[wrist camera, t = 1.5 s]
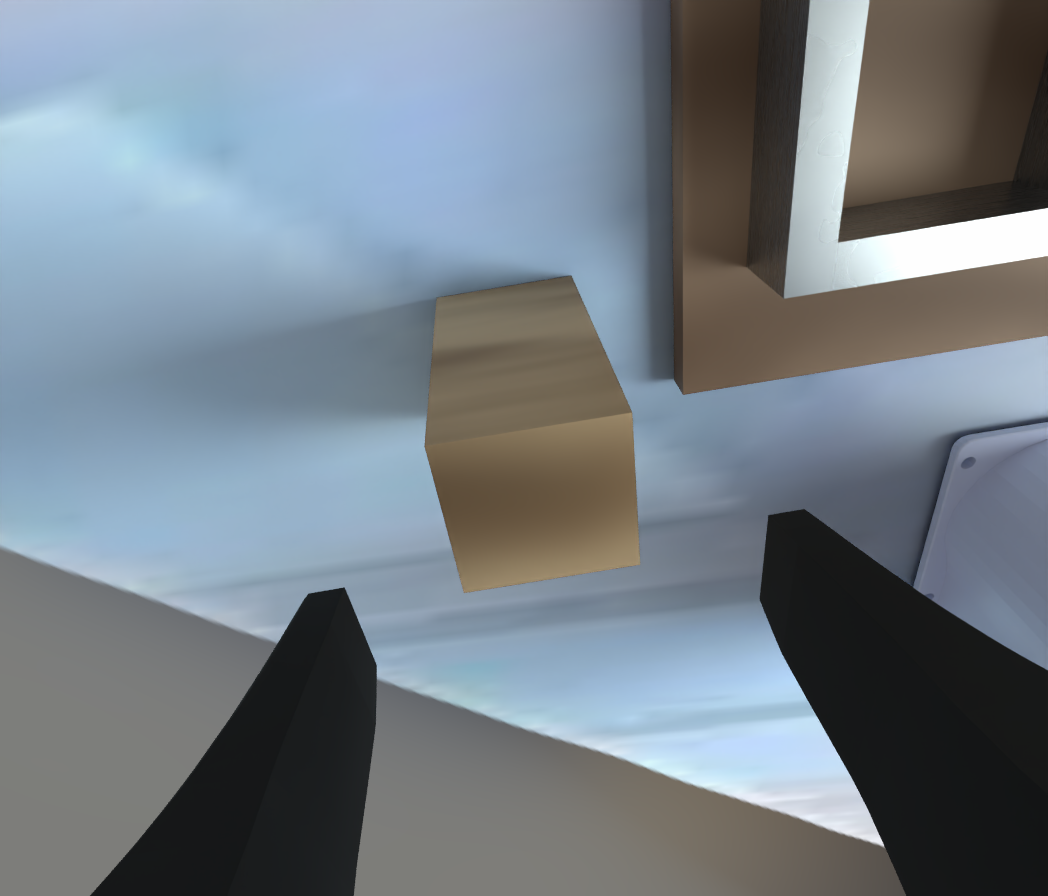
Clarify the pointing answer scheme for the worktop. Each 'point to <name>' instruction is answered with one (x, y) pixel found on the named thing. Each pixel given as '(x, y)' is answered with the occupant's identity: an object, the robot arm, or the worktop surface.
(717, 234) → the socket board
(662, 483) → the worktop surface
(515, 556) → the peg
